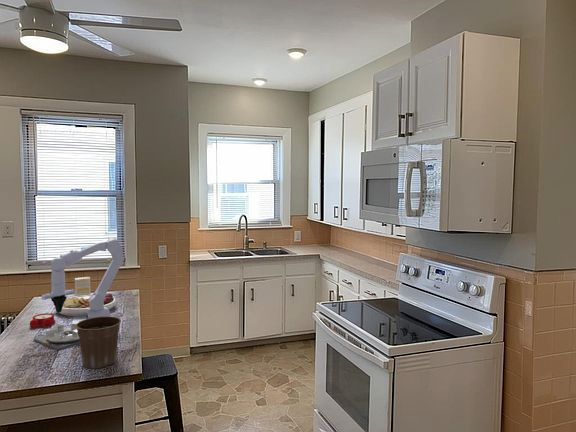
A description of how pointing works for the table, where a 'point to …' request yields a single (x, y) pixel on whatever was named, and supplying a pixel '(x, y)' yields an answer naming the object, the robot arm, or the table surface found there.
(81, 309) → the bowl
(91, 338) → the plant pot
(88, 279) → the supplement box
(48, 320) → the alarm clock
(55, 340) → the metal disc with lugs
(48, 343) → the mount plate
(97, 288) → the robot arm
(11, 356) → the table surface
